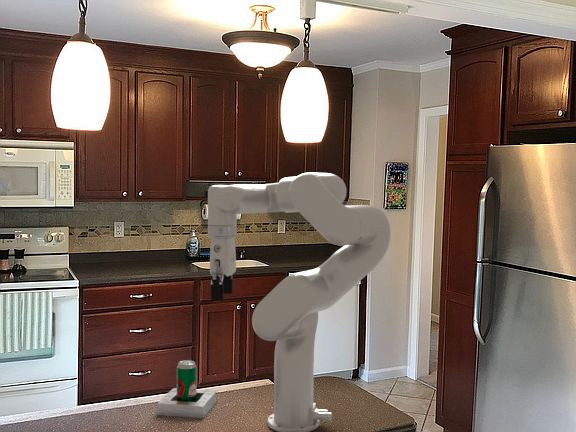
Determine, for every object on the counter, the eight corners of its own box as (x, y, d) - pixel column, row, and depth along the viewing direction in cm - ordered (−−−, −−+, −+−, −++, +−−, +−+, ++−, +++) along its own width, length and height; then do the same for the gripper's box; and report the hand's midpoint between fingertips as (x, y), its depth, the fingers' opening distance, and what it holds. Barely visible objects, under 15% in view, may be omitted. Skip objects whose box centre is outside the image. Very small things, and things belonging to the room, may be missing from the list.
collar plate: (216, 401, 167) (216, 389, 167) (203, 418, 155) (203, 405, 155) (173, 399, 169) (173, 387, 168) (157, 415, 157) (157, 402, 157)
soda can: (192, 412, 159) (192, 365, 158) (173, 411, 160) (173, 364, 159) (199, 405, 164) (199, 360, 163) (181, 404, 165) (180, 359, 164)
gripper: (228, 234, 155) (227, 303, 156) (243, 230, 172) (243, 291, 173) (198, 234, 156) (198, 302, 157) (217, 229, 173) (216, 290, 174)
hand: (222, 296), depth 165 cm, fingers open, 9 cm apart
